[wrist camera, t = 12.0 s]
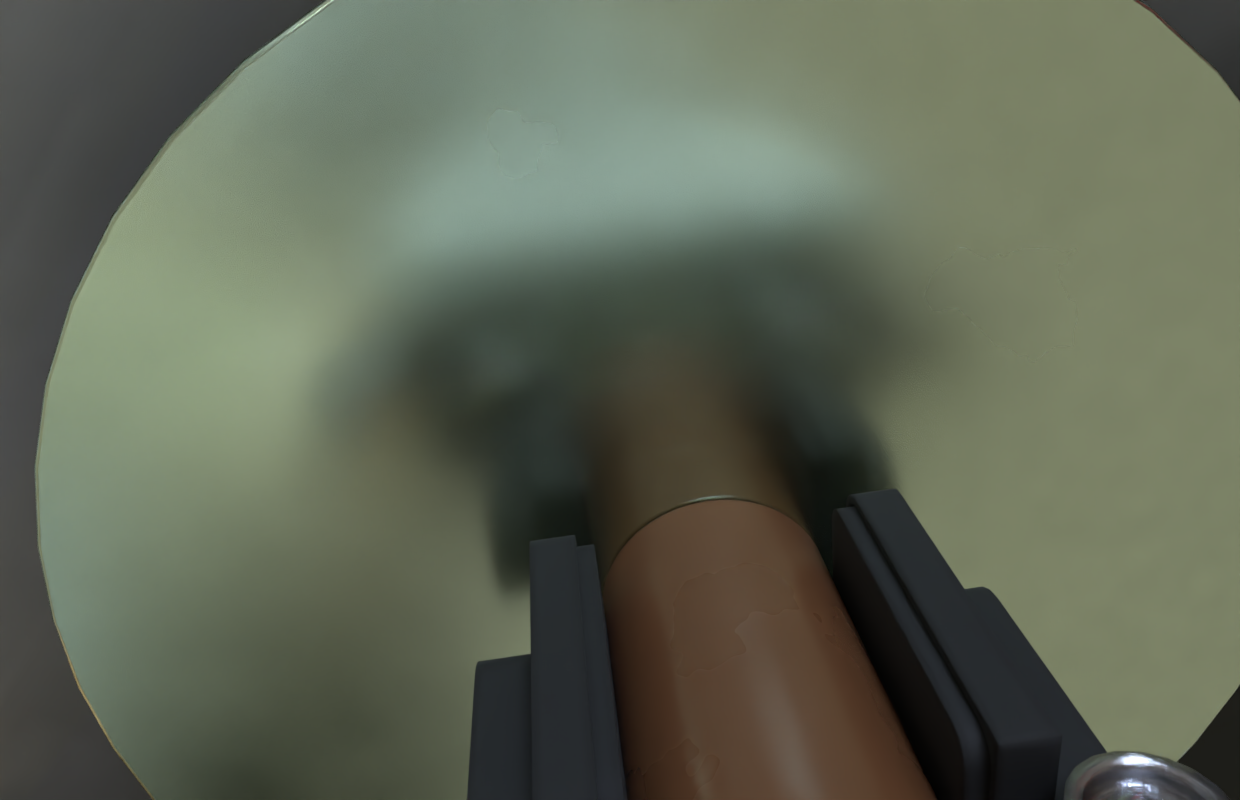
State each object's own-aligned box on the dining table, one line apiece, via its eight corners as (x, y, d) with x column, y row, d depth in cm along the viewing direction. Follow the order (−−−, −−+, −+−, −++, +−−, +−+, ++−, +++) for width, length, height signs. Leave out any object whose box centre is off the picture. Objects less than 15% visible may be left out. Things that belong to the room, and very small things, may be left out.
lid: (272, 993, 16) (144, 1537, 11) (-165, -15, 9) (-1154, 63, 4) (1179, 849, 17) (1501, 1298, 11) (1402, -210, 10) (2519, -387, 4)
